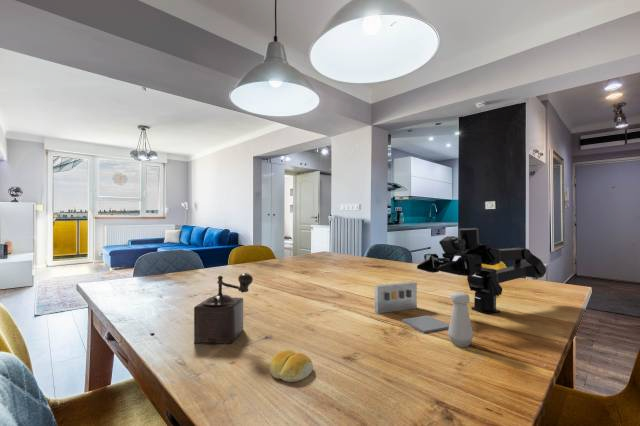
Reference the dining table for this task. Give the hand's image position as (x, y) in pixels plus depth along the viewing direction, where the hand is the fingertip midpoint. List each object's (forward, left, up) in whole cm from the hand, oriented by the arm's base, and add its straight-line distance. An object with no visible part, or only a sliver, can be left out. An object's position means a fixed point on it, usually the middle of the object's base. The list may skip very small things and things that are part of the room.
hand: (427, 268), depth 94 cm
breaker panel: (+3, -13, -16) cm, 21 cm away
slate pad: (+3, +2, -16) cm, 17 cm away
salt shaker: (+4, +16, -17) cm, 24 cm away
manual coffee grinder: (+59, -11, -17) cm, 62 cm away
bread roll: (+48, +13, -17) cm, 52 cm away
